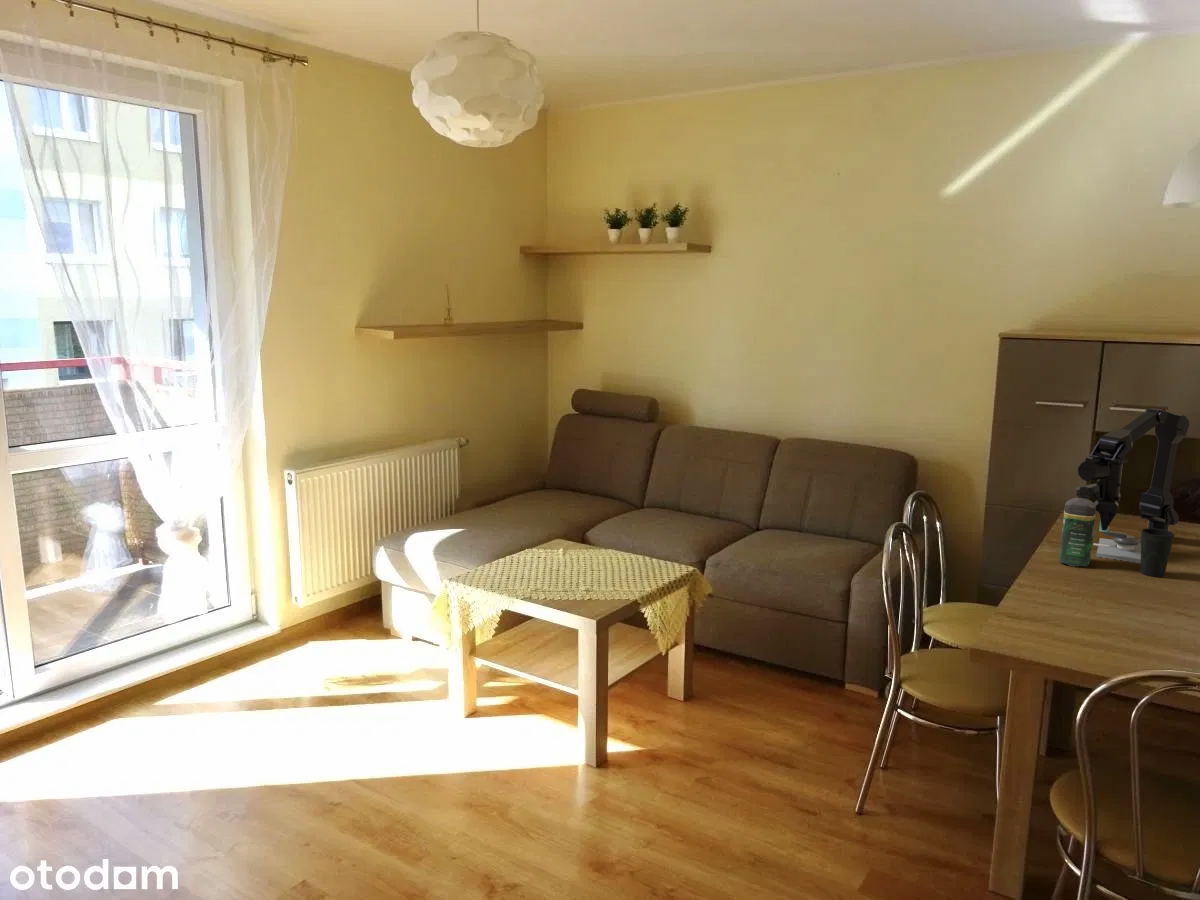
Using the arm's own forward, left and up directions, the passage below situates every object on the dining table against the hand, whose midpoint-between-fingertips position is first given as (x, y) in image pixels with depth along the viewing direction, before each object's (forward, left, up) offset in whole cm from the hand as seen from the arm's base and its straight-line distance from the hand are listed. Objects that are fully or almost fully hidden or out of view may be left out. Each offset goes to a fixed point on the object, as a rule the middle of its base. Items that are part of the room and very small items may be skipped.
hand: (1104, 528), depth 262 cm
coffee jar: (+18, -6, -7) cm, 20 cm away
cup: (+18, +13, -7) cm, 23 cm away
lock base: (0, +6, -6) cm, 9 cm away
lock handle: (0, +4, -3) cm, 5 cm away
